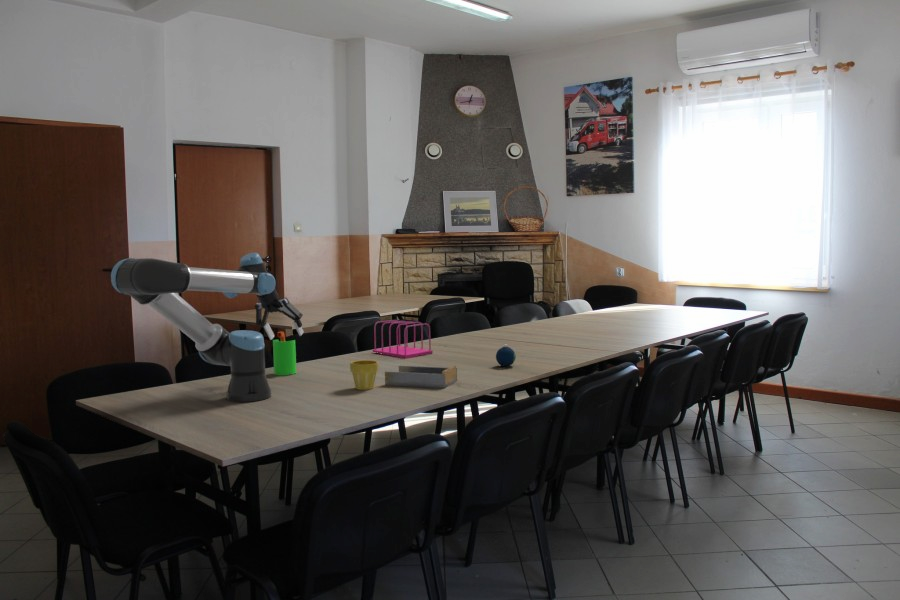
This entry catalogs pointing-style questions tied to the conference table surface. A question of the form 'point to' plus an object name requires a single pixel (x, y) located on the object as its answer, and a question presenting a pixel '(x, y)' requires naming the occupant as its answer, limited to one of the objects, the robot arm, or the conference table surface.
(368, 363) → the plant pot
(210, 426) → the conference table surface
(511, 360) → the christmas ornament
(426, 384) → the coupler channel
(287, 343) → the green cylindrical container
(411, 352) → the file sorter
